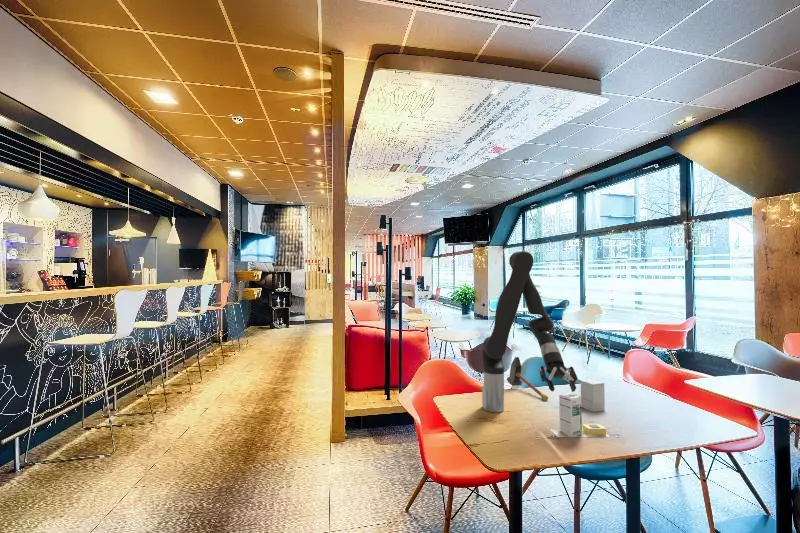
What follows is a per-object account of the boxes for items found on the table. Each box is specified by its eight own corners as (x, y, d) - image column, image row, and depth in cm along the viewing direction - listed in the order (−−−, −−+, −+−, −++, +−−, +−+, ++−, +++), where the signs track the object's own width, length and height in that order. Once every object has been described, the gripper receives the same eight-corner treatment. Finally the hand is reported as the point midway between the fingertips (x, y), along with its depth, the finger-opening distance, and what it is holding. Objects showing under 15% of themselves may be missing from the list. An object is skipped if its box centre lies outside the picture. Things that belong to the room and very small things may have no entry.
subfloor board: (562, 445, 134) (562, 441, 134) (545, 428, 148) (545, 425, 148) (615, 444, 135) (615, 440, 135) (594, 428, 149) (594, 425, 149)
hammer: (543, 382, 179) (510, 355, 207) (538, 411, 182) (506, 381, 211) (553, 381, 181) (519, 355, 209) (548, 410, 184) (515, 380, 212)
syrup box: (572, 437, 138) (572, 398, 138) (558, 431, 143) (558, 393, 143) (582, 434, 140) (582, 396, 141) (568, 428, 146) (568, 391, 146)
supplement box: (605, 410, 169) (605, 382, 169) (593, 412, 167) (592, 384, 167) (592, 404, 176) (592, 378, 176) (580, 406, 174) (580, 379, 174)
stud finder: (588, 435, 140) (588, 428, 140) (582, 430, 144) (582, 423, 144) (606, 434, 140) (606, 428, 140) (600, 430, 144) (600, 423, 144)
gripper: (537, 350, 156) (549, 385, 145) (570, 351, 157) (584, 386, 145) (532, 360, 161) (543, 394, 150) (564, 360, 162) (577, 395, 150)
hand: (563, 390), depth 147 cm, fingers open, 8 cm apart
